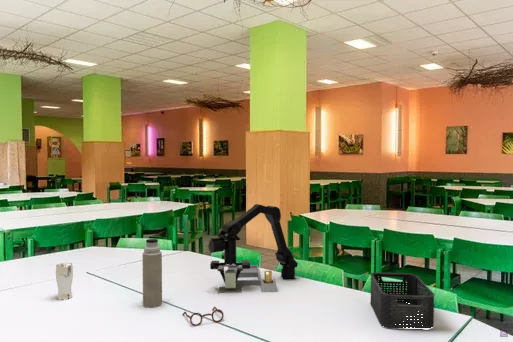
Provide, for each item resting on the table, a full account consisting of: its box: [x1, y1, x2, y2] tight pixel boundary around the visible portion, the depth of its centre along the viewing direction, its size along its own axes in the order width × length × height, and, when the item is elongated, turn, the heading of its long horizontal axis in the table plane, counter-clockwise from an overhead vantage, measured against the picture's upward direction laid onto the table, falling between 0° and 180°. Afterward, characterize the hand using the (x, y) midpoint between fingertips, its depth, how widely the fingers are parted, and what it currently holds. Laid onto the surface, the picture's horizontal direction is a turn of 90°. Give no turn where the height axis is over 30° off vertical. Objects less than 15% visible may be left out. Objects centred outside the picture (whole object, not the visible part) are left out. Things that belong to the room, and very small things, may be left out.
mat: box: [217, 286, 243, 294], centre depth 198 cm, size 11×8×1 cm
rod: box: [263, 270, 273, 283], centre depth 198 cm, size 4×4×8 cm
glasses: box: [181, 306, 224, 327], centre depth 163 cm, size 13×13×5 cm
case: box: [227, 264, 262, 287], centre depth 219 cm, size 17×30×2 cm, turn 3°
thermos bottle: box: [142, 238, 163, 309], centre depth 178 cm, size 8×8×28 cm
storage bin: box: [369, 271, 435, 329], centre depth 166 cm, size 29×19×13 cm
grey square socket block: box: [259, 278, 277, 293], centre depth 198 cm, size 7×7×4 cm
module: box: [224, 269, 236, 288], centre depth 198 cm, size 5×5×8 cm
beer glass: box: [55, 262, 74, 300], centre depth 186 cm, size 7×7×15 cm
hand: (230, 282), depth 198 cm, fingers closed on module, 5 cm apart
